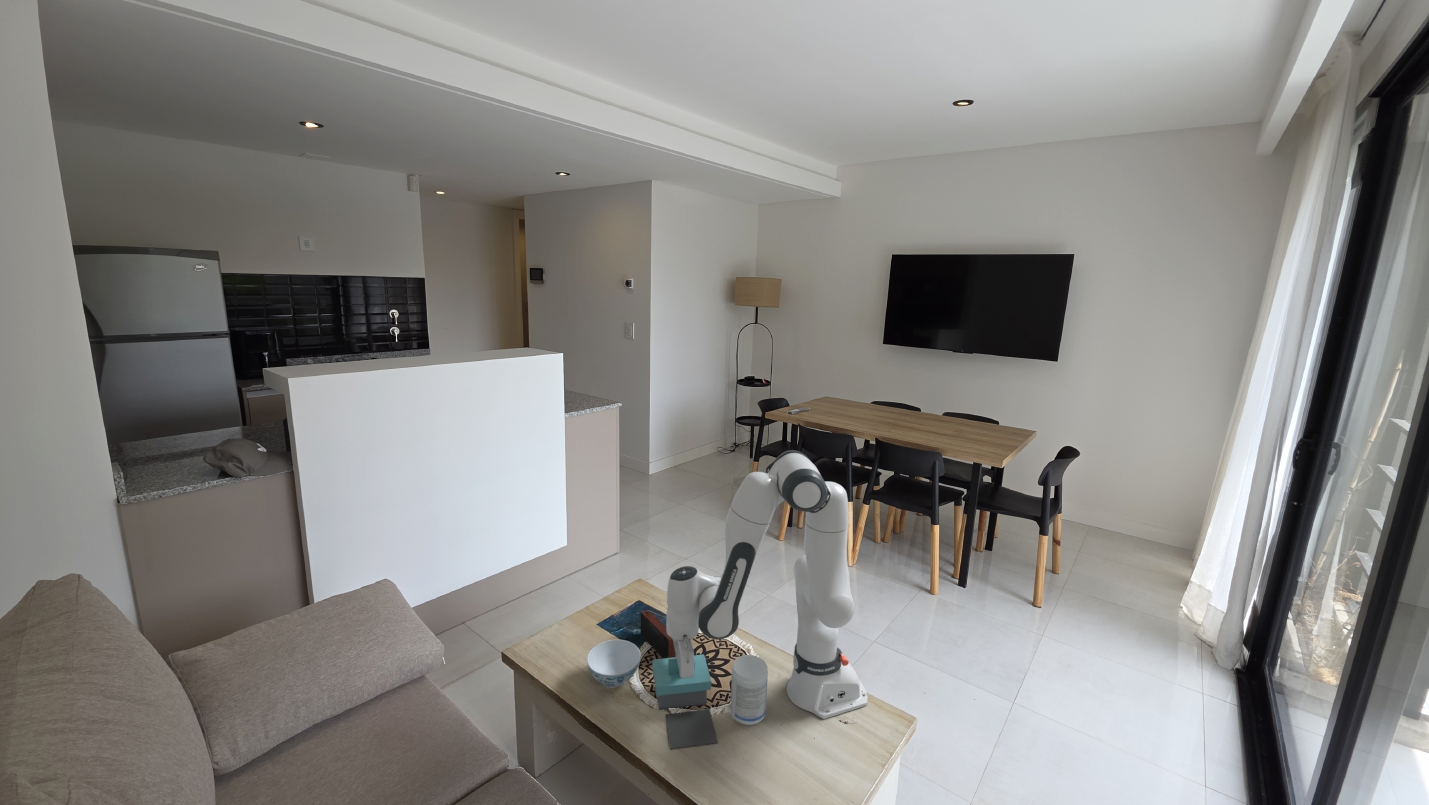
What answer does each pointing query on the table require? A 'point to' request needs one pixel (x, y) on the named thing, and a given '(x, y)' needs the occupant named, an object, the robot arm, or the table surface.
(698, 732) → the mat
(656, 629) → the radio
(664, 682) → the lid
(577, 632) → the table surface
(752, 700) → the supplement tub
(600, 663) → the chinaware
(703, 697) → the storage box
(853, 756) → the table surface
